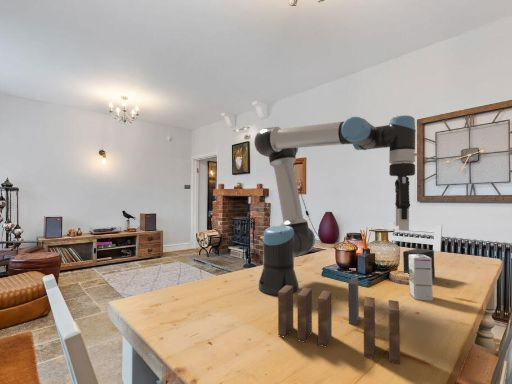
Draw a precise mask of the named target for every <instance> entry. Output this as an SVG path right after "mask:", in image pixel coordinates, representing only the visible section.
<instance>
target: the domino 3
mask: <svg viewBox="0 0 512 384" xmlns="http://www.w3.org/2000/svg"><path fill="white" fill-rule="evenodd" d="M332 317H333V316H332V291H330V290H322V291H321V293H320V295H319V296H318V297H317V338H318V339H317V346H319V345H323V346H326V347H325V348H328V346H329V343H330V341H331V339H332V330H333V329H332V325H333V323H332V319H333V318H332ZM330 338H331V339H330ZM327 345H328V346H327ZM323 346H322V347H323Z"/></svg>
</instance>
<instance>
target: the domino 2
mask: <svg viewBox="0 0 512 384" xmlns="http://www.w3.org/2000/svg"><path fill="white" fill-rule="evenodd" d="M312 290H313V289H312V288H310V287H303V288H302V290H301V291H300V292H299V293H297V297H296V298H297V341H298V340H300V341H299V342H301V341H304V342H303V343H307V341H308V340H309V338H308V337H310V336H311V334H312V332H313V291H312ZM310 333H311V334H310ZM309 335H310V336H309ZM306 340H307V341H306Z"/></svg>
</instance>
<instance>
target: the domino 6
mask: <svg viewBox="0 0 512 384" xmlns="http://www.w3.org/2000/svg"><path fill="white" fill-rule="evenodd" d="M399 303H400V302H399V300H398V301H397V300H393V299H388V352H389V353H388V356H389V358H388V359H389V360H388V361H390V362H389V363H392V362H394V363H393V364H396V363H398V364H397V365H401V343H400V342H401V339H400V338H401V336H400V335H401V333H400V332H401V331H400V329H401V327H400V324H401V323H400V318H401V317H400V316H401V315H400V304H399Z"/></svg>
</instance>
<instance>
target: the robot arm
mask: <svg viewBox="0 0 512 384" xmlns="http://www.w3.org/2000/svg"><path fill="white" fill-rule="evenodd" d="M253 142H254V147H255V150H256V151H257V152H258V153H259V154H260V155H262V156H264V157H268V159H269V160H268V161H269V165H270V166H271V167H272V168H273V170H274V175H275V181H276V182H275V183H276V186H277V187H276V188H277V193H278V199H279V206H280V211H281V217H282V222H281V224H280V225H276V226H275V225H274V226H270V227H266V229H264V231H263V237H262V243H263V245H262V251H263V252H262V253H263V257H262V258H263V261H262V263H263V266H262V267H263V268H262V271H261V274H260V277H259V281H258V290H259V291H260V292H262V293H265V294H269V295H275V296H278V292H279V291H280V290H281V289H282V288H283V287H284V286H286V285H289V286H293V294H296V293H297V292H299V281H298V278H297V275H296V272H295V269H294V268H295V266H294V265H295V263H294V261H295V257H298V256H304V255H306V254H307V253H309V252H311V251H312V249H314V246H315V244H316V235H315V232H314V231H313V230H312V228H310V227H309V224H308V220H307V219H305V218H304V215H303V211H302V203H301V200H300V195H299V189H298V184H297V182H298V181H297V178H296V172H295V166H294V163H295V162H296V161H297V158H296V156H297V153H298V151H299V149H300V148H309V147H310V148H313V147H322V146H323V147H325V146H337V145H340V146H341V145H352V146H353V148H354V149H355V150H357V151H367V150H373V149H374V150H375V149H376V150H377V149H383V148H385V149H386V148H389V152H388V153H389V154H388V155H389V157H388V159H389V160H388V163H389V164H390V165H389V176H391V177H397V179H395V182H394V187H395V202H394V205H395V226H396V227H398V231H410V206H411V204H410V181H409V180H410V178H409V177H412V176H415V174H416V164H415V163H416V157H417V156H418V153H416V152H415V151H416V120H415V118H414V116H412V115H407V114H406V115H397V116H395V117H391V118H390V119H389V123H388V124H386V125H380V126H379V125H378V126H374V125H373V124H371V123H370V122H368V121H367V119H365V118H361V117H360V116H351V117H349V118H347V119H345V120H344V121H336V122H329V123H321V124H312V125H303V126H296V127H288V128H286V127H285V128H281V127H280V126H272V127H265V128H263V129H262V128H261V130H259V131H258V132H257V133H256V135H255V137H254V141H253Z"/></svg>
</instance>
